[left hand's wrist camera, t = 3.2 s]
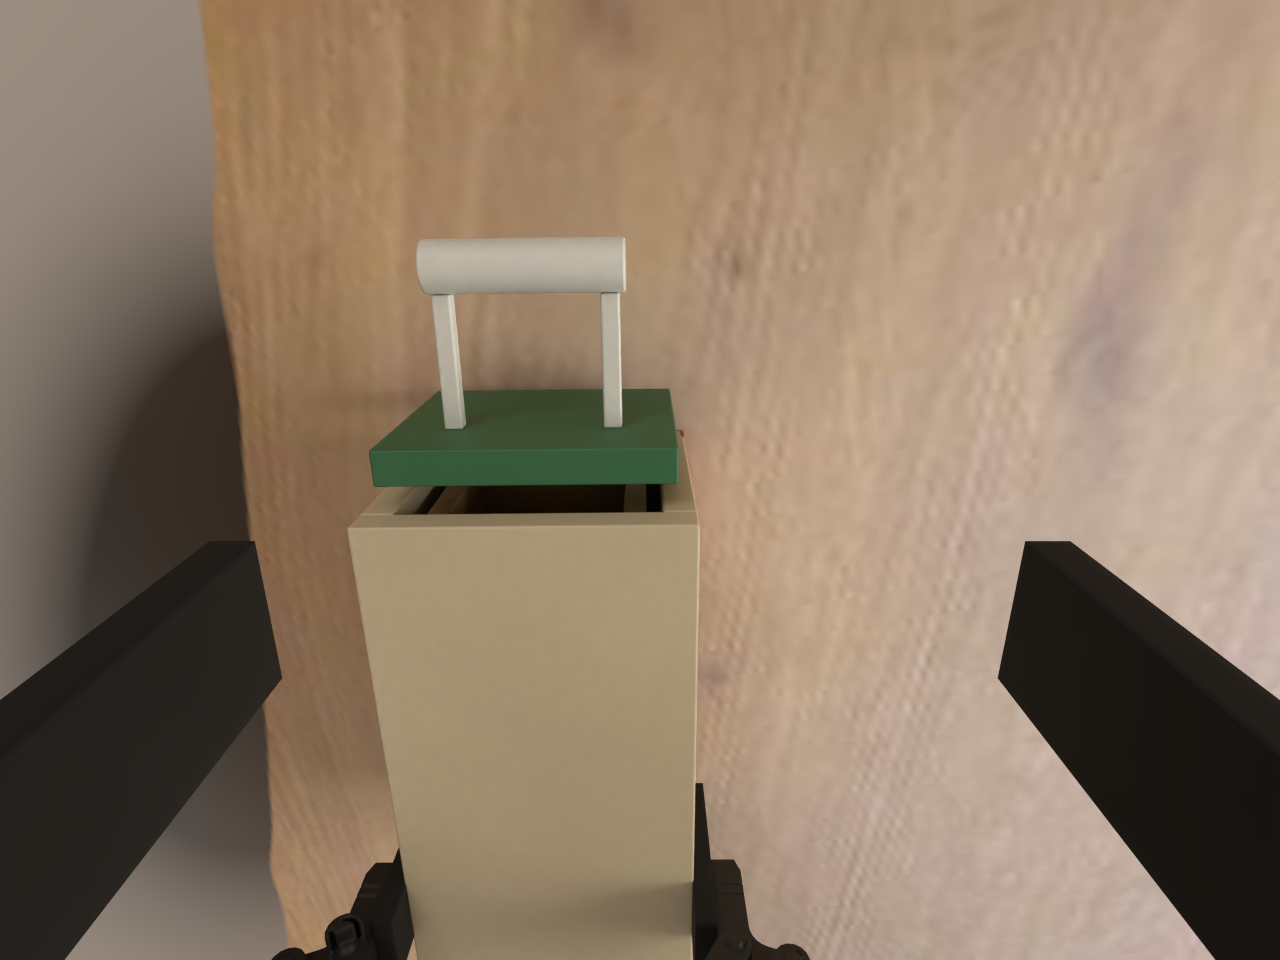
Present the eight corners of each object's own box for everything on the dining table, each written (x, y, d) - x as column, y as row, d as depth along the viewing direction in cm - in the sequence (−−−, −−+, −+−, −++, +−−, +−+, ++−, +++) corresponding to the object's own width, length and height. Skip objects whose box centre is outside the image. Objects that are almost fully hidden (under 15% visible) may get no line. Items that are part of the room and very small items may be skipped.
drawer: (420, 235, 27) (336, 242, 20) (670, 232, 27) (680, 238, 20) (476, 743, 36) (431, 884, 28) (668, 742, 36) (676, 883, 28)
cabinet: (434, 433, 31) (345, 527, 22) (682, 430, 31) (700, 524, 22) (474, 784, 38) (418, 974, 28) (679, 782, 38) (692, 973, 28)
